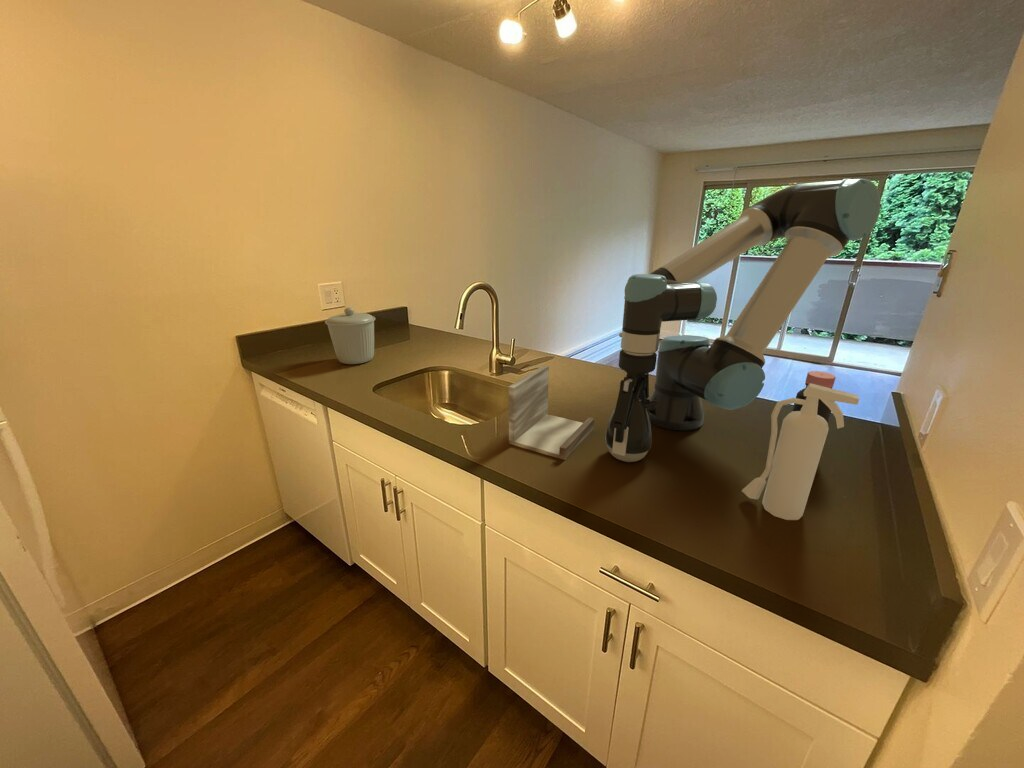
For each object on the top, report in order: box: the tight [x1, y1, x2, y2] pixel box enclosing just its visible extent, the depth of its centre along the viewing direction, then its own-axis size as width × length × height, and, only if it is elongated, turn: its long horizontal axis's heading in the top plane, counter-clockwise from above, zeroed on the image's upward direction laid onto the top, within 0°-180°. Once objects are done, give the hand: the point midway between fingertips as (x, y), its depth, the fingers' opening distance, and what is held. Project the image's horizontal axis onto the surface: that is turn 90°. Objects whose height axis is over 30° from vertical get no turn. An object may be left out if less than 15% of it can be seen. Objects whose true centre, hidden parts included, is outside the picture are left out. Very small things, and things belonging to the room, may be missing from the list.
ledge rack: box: [507, 365, 595, 461], centre depth 103 cm, size 15×18×15 cm
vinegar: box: [791, 370, 836, 425], centre depth 92 cm, size 7×7×20 cm
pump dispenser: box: [604, 396, 658, 463], centre depth 94 cm, size 10×10×15 cm
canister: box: [324, 306, 376, 365], centre depth 161 cm, size 18×18×21 cm
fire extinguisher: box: [741, 383, 860, 521], centre depth 74 cm, size 7×12×25 cm, turn 57°
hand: (628, 440), depth 95 cm, fingers open, 13 cm apart
